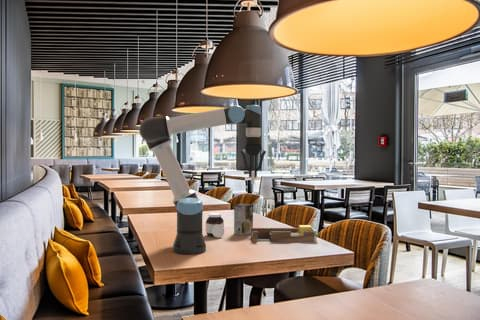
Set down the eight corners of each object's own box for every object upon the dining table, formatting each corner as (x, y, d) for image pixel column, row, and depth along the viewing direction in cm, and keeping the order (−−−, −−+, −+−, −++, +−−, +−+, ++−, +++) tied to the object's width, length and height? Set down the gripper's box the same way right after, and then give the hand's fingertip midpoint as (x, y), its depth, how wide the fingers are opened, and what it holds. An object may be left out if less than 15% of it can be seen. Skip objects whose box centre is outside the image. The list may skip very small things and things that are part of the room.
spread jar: (215, 232, 228) (215, 212, 228) (231, 235, 221) (231, 214, 221) (200, 236, 218) (201, 214, 218) (217, 239, 211) (217, 216, 211)
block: (311, 234, 211) (312, 226, 210) (300, 234, 210) (300, 226, 210) (309, 232, 216) (309, 225, 215) (298, 232, 215) (298, 225, 215)
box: (316, 241, 208) (316, 230, 208) (252, 241, 206) (252, 230, 206) (311, 237, 218) (312, 227, 218) (251, 237, 217) (251, 226, 217)
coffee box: (245, 231, 232) (245, 203, 231) (253, 233, 227) (253, 204, 227) (233, 233, 225) (233, 204, 225) (241, 235, 221) (241, 205, 220)
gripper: (265, 137, 206) (264, 183, 207) (239, 136, 206) (239, 183, 206) (267, 136, 199) (266, 184, 199) (240, 136, 198) (240, 184, 199)
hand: (252, 184), depth 203 cm, fingers closed
